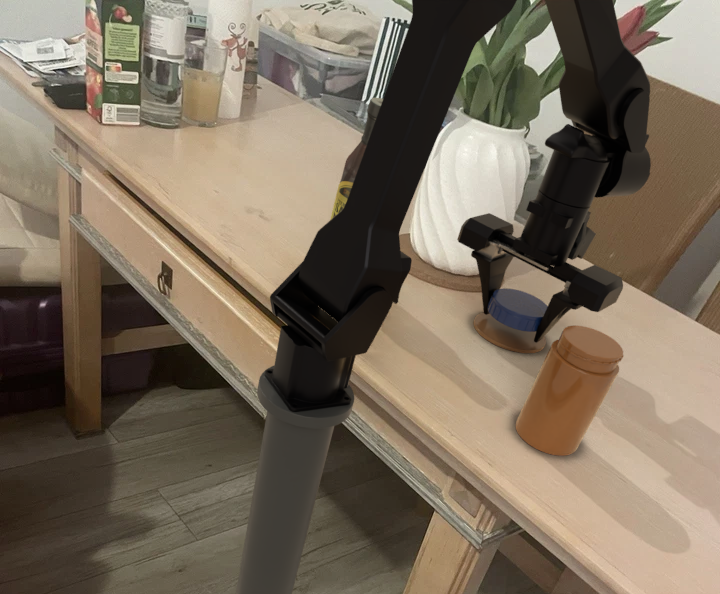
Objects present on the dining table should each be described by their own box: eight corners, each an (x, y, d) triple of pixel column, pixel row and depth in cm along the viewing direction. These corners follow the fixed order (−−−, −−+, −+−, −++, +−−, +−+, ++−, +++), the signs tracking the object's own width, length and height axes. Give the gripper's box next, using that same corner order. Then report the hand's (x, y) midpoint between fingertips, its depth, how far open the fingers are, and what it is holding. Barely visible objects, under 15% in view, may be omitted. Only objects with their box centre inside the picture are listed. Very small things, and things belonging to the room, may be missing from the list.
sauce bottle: (311, 278, 83) (347, 97, 71) (326, 260, 88) (361, 88, 75) (363, 295, 83) (408, 116, 70) (375, 276, 88) (418, 106, 75)
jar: (544, 460, 65) (593, 364, 58) (502, 420, 69) (544, 325, 62) (590, 450, 68) (642, 357, 61) (548, 411, 72) (592, 320, 65)
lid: (518, 301, 87) (524, 287, 85) (555, 330, 82) (562, 315, 81) (475, 303, 83) (481, 288, 82) (512, 334, 79) (518, 319, 78)
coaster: (504, 356, 79) (505, 353, 79) (459, 316, 84) (460, 313, 84) (559, 350, 84) (560, 347, 83) (513, 312, 89) (514, 309, 89)
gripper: (669, 222, 76) (605, 346, 85) (526, 159, 83) (482, 280, 93) (632, 238, 68) (567, 372, 78) (478, 166, 75) (436, 297, 85)
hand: (511, 327), depth 84 cm, fingers closed on lid, 7 cm apart
